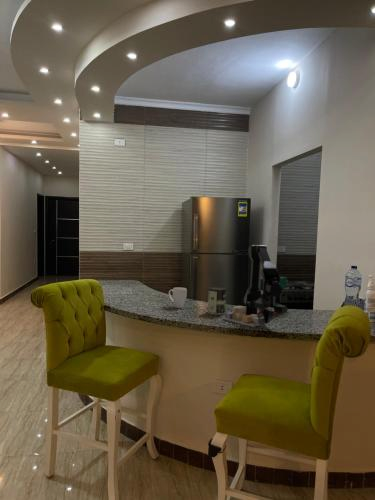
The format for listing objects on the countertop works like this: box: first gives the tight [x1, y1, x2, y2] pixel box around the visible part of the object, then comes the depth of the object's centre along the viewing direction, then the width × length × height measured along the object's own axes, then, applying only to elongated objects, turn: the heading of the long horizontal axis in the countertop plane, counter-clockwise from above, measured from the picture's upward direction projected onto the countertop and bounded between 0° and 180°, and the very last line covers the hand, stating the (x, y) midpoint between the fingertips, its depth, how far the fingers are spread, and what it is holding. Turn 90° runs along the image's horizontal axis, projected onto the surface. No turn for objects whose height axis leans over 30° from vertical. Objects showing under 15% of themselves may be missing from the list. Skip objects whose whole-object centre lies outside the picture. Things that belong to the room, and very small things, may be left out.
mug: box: [168, 286, 188, 309], centre depth 222 cm, size 12×8×11 cm
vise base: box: [222, 311, 261, 328], centre depth 191 cm, size 10×20×4 cm, turn 44°
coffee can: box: [207, 286, 228, 316], centre depth 209 cm, size 10×10×14 cm
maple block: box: [232, 305, 247, 320], centre depth 193 cm, size 4×6×6 cm, turn 135°
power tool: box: [258, 276, 289, 315], centre depth 222 cm, size 32×7×20 cm, turn 141°
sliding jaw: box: [242, 314, 266, 326], centre depth 186 cm, size 9×10×3 cm
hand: (267, 323), depth 181 cm, fingers closed
